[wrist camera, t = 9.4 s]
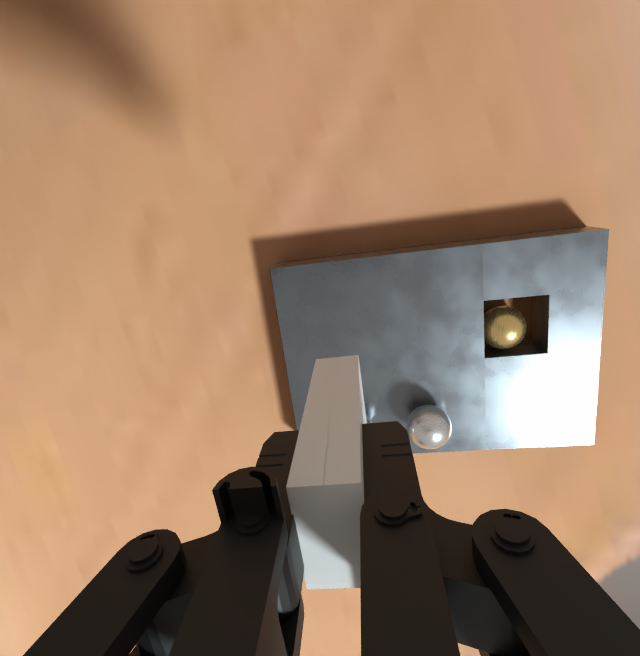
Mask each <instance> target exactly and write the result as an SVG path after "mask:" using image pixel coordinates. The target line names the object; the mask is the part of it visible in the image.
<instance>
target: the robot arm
mask: <svg viewBox="0 0 640 656" xmlns="http://www.w3.org/2000/svg"><path fill="white" fill-rule="evenodd" d="M212 491H213V495H214V498H215V502H216V506H217V509H218V513H219V517H220V520H221V525H220V528H219V530H218V531H216V532H214V533H212V534H210V535H207V536H204V537H201V538H198V539H195V540H192V541H189V542H185V543H182V544H181V542H180V539H179V538H178V536H177V534H176V533H174V532H172V531H170V530H167V529H162V530H153V531H150V532H146V533H143V534H141V535H139V536H138V537H136V538H134V539H132V540H131V541H129V542H128V543H127V544H126V545H125V546H123V547H122V548H121V549H120V550H119V551H118V552H117V553H116V554H115V555H114V556H113V557H112V559H111V560H110V561H109V562H108V563H107V564H106V565H105V566H104V567H103V568H102V570H101V571H100V572H99V573H98V574H97V575H96V576H95V577H94V578H93V579H92V581H91V582H90V583H89V584H88V585H87V586H86V587H85V588H84V589H83V590H82V591H81V593H80V594H79V595H78V596H77V597H76V598H75V599H74V600H73V601H72V602H71V604H70V605H69V606H68V607H67V608H66V609H65V610H64V611H63V612H62V613H61V614H60V616H59V617H58V618H57V619H56V620H55V621H54V622H53V623H52V624H51V625H50V627H49V628H48V629H47V630H46V631H45V632H44V633H43V634H42V635H41V636H40V637H39V639H38V640H37V641H36V642H35V643H34V644H33V645H32V646H31V647H30V648H29V650H28V651H27V652H26V653H25V654H24V655H23V656H299V655H300V647H301V638H302V629H303V621H304V606H303V600H302V595H301V589H302V581H303V574H304V578H305V582H306V587H307V589H334V588H361V656H460V652H459V648H458V643H460V644H463V645H466V646H470V647H473V648H476V649H479V652H480V655H481V656H640V629H639V628H638V627H637V626H636V625H635V624H634V623H633V622H632V621H631V620H630V618H629V617H628V616H627V615H626V614H625V613H624V612H623V611H622V610H621V609H620V607H619V606H618V605H617V604H616V603H615V602H614V601H613V600H612V599H611V598H610V596H609V595H608V594H607V593H606V592H605V591H604V590H603V589H602V588H601V587H600V585H599V584H598V583H597V582H596V581H595V580H594V579H593V578H592V577H591V576H590V574H589V573H588V572H587V571H586V570H585V569H584V568H583V567H582V566H581V565H580V563H579V562H578V561H577V560H576V559H575V558H574V557H573V556H572V555H571V554H570V552H569V551H568V550H567V549H566V548H565V547H564V546H563V545H562V544H561V543H560V541H559V540H558V539H557V538H556V537H555V536H554V535H553V534H552V533H551V532H550V530H549V529H548V528H547V527H545V526H544V525H543V524H542V523H540V522H539V521H538V520H537V519H536V518H533V517H531V516H529V515H527V514H525V513H522V512H519V511H514V510H508V509H499V510H490V511H488V512H486V513H484V514H481V515H480V516H479V517H478V518H477V519H476V521H475V522H474V523H473V525H470V524H466V523H461V522H456V521H453V520H449V519H446V518H444V517H442V516H440V515H438V514H436V513H435V512H434V511H433V510H431V509H430V508H429V507H428V506H427V504H426V503H425V502H424V500H423V497H422V495H421V490H420V486H419V481H418V477H417V472H416V467H415V463H414V458H413V454H412V449H411V445H410V440H409V435H408V431H407V430H406V429H405V428H404V427H403V426H402V425H401V424H400V423H399V422H398V421H391V422H378V423H367V420H366V412H365V404H364V396H363V388H362V380H361V372H360V364H359V356H358V355H352V356H343V357H333V358H323V359H316V361H315V365H314V369H313V374H312V378H311V382H310V387H309V391H308V395H307V400H306V404H305V408H304V412H303V417H302V421H301V425H300V430H297V431H284V432H274V433H273V434H272V435H271V436H270V437H269V438H268V439H267V440H266V442H265V443H264V444H263V447H262V449H261V452H260V455H259V458H258V460H257V463H256V467H248V468H243V469H239V470H237V471H235V472H232V473H230V474H228V475H227V476H225V477H224V478H223V479H221V480H220V481H219V482H218V483H217V484H216V486H215V487H214V489H213V490H212ZM135 645H136V646H135ZM134 646H135V648H134ZM133 648H134V649H133ZM132 649H133V651H132V652H131V650H132ZM130 652H131V653H130ZM129 653H130V654H129Z"/></svg>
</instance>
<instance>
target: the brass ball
mask: <svg viewBox="0 0 640 656" xmlns="http://www.w3.org/2000/svg"><path fill="white" fill-rule="evenodd" d="M526 330H527V325H526V321H525V318H524V316H523V315H522V314H521V313H520V312H519V311H518V310H517V309H515V308H513V307H510V306H496V307H493V308H491V309H489V310H488V311H487V312H486V313H485V314H484V341H485V342H486V343H487V344H489V345H490V346H492V347H495V348H498V349H507V348H511V347H514V346H516V345H517V344H519V343H520V342H521V341H522V339H523V338H524V336H525V334H526Z"/></svg>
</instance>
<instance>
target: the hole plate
mask: <svg viewBox="0 0 640 656" xmlns="http://www.w3.org/2000/svg"><path fill="white" fill-rule="evenodd" d="M608 236H609V229H604V228H596V227H588V226H585V227H577V228H569V229H560V230H552V231H543V232H535V233H526V234H518V235H509V236H501V237H493V238H484V239H476V240H467V241H459V242H450V243H442V244H433V245H425V246H416V247H408V248H400V249H391V250H383V251H374V252H366V253H357V254H349V255H340V256H332V257H323V258H315V259H307V260H298V261H290V262H281V263H277V264H276V265H274V266H273V267H271V268H270V273H271V279H272V285H273V291H274V297H275V303H276V309H277V315H278V321H279V327H280V333H281V339H282V345H283V351H284V357H285V363H286V369H287V375H288V381H289V387H290V393H291V399H292V405H293V411H294V417H295V423H296V429H297V430H300V425H301V421H302V417H303V412H304V408H305V404H306V400H307V395H308V391H309V387H310V382H311V378H312V374H313V369H314V365H315V361H316V359H323V358H333V357H343V356H352V355H358V356H359V364H360V372H361V380H362V388H363V396H364V404H365V412H366V415H367V416H368V417H369V418H370V420H371V422H372V423H378V422H391V421H398V422H399V423H400V424H401V425H402V426H403V427H404V428H405V429H406V430H407V420H408V417H409V415H410V414H411V412H412V411H413V410H414V409H416V408H417V407H419V406H422V405H433V406H436V407H439V408H440V409H442V410H443V411H444V412H445V413H446V414H447V415H448V417H449V419H450V422H451V426H452V431H451V435H450V438H449V440H448V441H447V442H446V443H445V444H444V445H443V446H441V447H439V448H437V449H424V448H421V447H419V446H418V445H416V444H415V443H414V442H413V441H412V440H411V438H410V436H409V440H410V445H411V449H412V453H429V452H450V451H471V450H492V449H513V448H534V447H555V446H577V445H594V436H595V421H596V407H597V393H598V379H599V364H600V350H601V336H602V322H603V307H604V293H605V279H606V265H607V250H608ZM529 296H533V340H532V341H521V342H520V343H519V344H517V345H516V346H514V347H511V348H507V349H498V348H495V347H492V346H490V345H489V344H484V301H488V300H498V299H508V298H518V297H529ZM408 435H409V434H408Z"/></svg>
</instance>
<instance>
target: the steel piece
mask: <svg viewBox="0 0 640 656" xmlns="http://www.w3.org/2000/svg"><path fill="white" fill-rule="evenodd" d="M407 431H408V434H409V436H410V438H411V440H412V441H413V442H414V443H415V444H416V445H418V446H419V447H421V448H424V449H437V448H439V447H441V446H443V445H444V444H445V443H446V442H447V441H448V440H449V438H450V435H451V431H452V426H451V422H450V419H449V417H448V415H447V414H446V413H445V412H444V411H443V410H442V409H440V408H439V407H436V406H433V405H422V406H419V407H417V408H416V409H414V410H413V411H412V412H411V414H410V415H409V417H408V420H407Z"/></svg>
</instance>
